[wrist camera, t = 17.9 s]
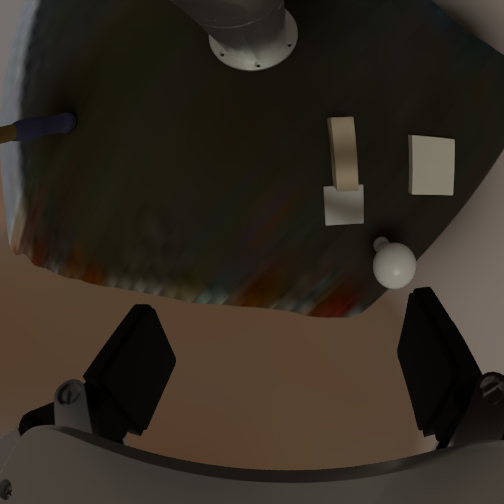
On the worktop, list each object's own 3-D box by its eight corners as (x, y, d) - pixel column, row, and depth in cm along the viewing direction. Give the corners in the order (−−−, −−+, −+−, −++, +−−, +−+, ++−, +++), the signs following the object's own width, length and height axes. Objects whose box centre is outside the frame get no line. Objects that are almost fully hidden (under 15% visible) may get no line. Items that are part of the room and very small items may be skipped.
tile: (412, 135, 32) (411, 194, 36) (454, 139, 31) (452, 195, 35) (407, 134, 34) (407, 191, 38) (448, 138, 32) (447, 192, 36)
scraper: (316, 118, 35) (319, 118, 31) (357, 117, 34) (364, 116, 30) (325, 224, 42) (328, 233, 38) (362, 221, 41) (369, 231, 37)
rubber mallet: (63, 157, 42) (-66, 209, 15) (48, 130, 40) (-76, 169, 13) (99, 113, 38) (-55, 142, 11) (82, 85, 35) (-62, 98, 9)
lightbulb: (359, 259, 43) (375, 298, 33) (364, 223, 41) (384, 254, 31) (393, 260, 42) (415, 297, 33) (400, 225, 40) (427, 256, 30)
